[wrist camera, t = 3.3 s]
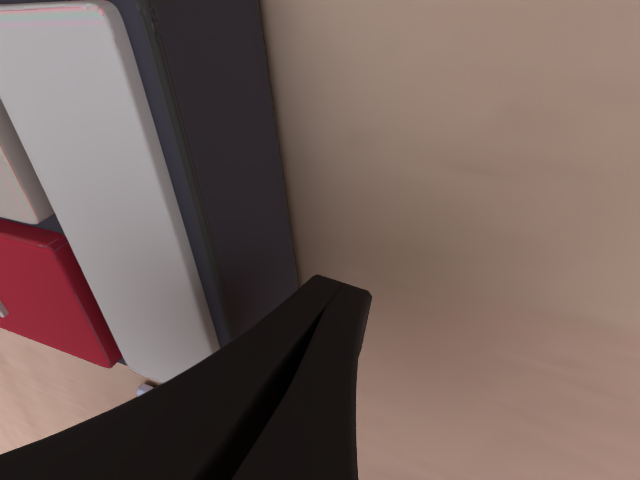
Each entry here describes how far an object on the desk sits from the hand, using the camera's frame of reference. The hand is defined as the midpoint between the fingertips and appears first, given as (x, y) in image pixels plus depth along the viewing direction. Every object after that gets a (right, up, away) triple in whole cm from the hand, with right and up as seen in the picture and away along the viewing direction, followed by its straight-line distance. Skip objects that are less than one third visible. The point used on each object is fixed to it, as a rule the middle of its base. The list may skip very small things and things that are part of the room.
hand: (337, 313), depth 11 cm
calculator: (-8, +4, +5) cm, 11 cm away
